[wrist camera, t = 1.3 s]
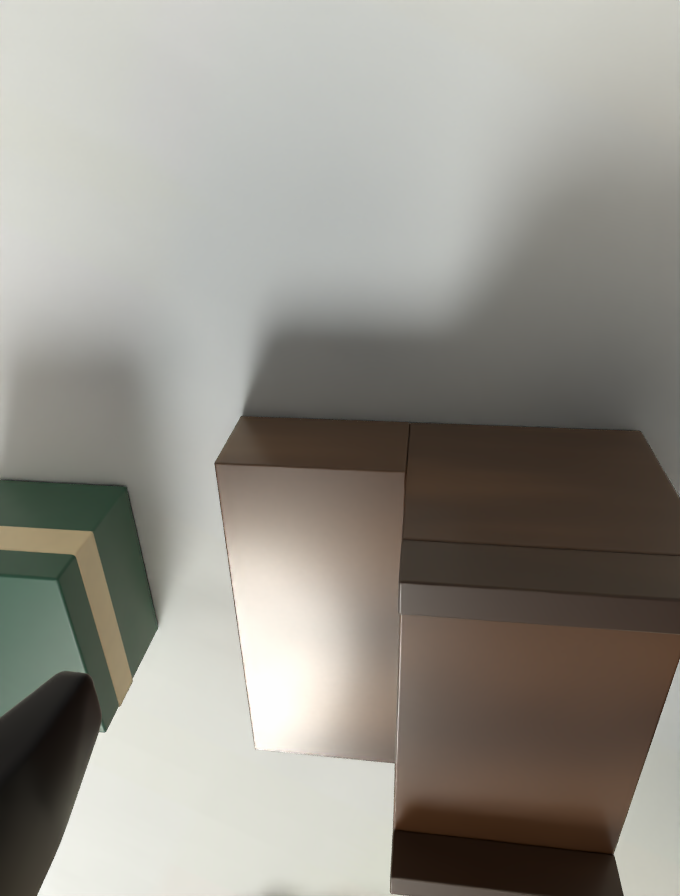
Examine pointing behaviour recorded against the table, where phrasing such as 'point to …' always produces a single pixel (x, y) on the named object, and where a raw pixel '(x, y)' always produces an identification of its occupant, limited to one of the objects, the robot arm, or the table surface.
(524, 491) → the step shelf
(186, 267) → the table surface
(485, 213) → the table surface
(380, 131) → the table surface
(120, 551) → the tea packet
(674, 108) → the table surface
